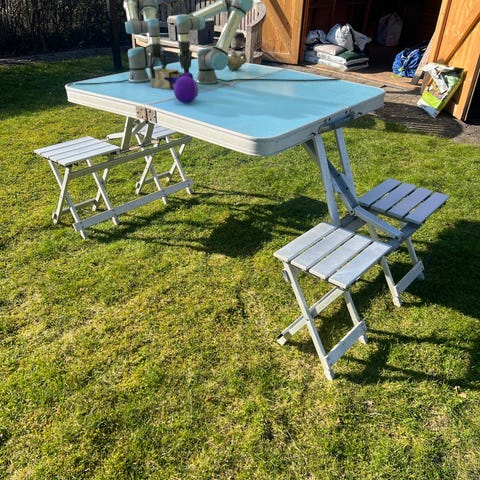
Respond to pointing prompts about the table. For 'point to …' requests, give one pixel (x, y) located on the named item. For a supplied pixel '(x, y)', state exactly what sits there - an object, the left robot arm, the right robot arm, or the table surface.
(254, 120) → the table surface
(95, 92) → the table surface
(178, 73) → the drawer
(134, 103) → the table surface
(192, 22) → the right robot arm
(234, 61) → the teapot
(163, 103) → the table surface
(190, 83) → the toy
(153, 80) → the tan cardboard box
